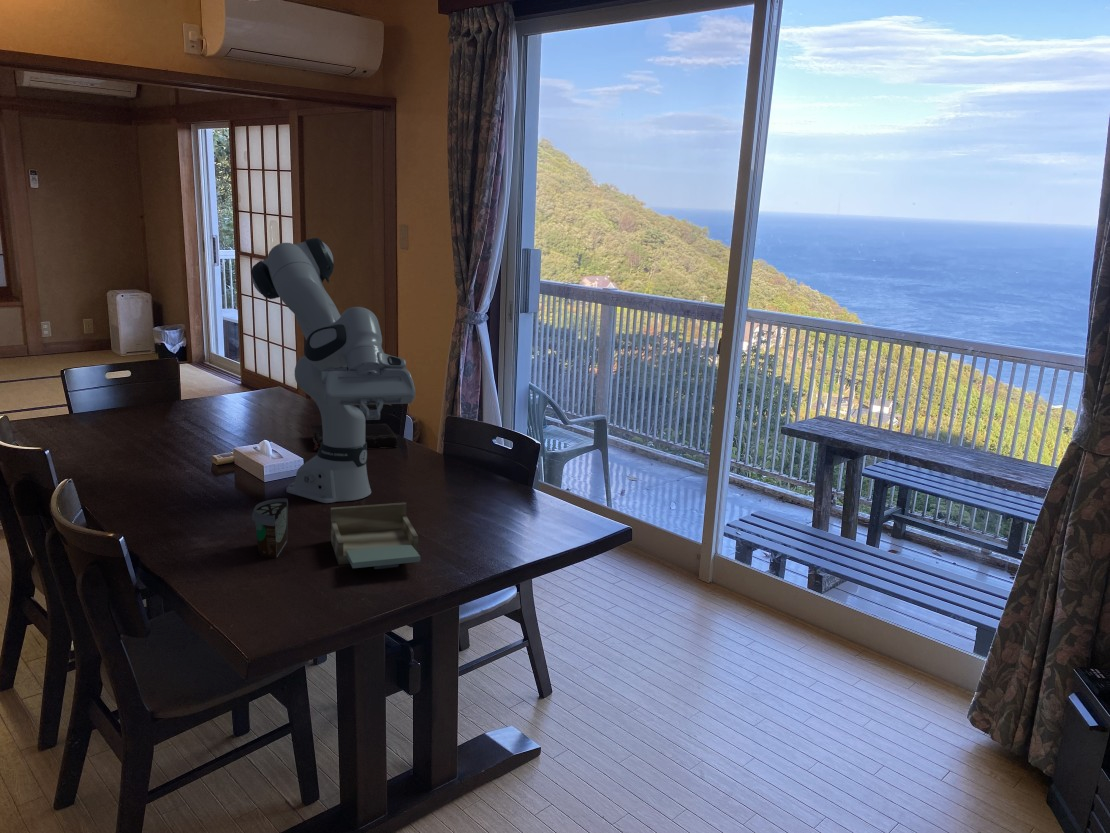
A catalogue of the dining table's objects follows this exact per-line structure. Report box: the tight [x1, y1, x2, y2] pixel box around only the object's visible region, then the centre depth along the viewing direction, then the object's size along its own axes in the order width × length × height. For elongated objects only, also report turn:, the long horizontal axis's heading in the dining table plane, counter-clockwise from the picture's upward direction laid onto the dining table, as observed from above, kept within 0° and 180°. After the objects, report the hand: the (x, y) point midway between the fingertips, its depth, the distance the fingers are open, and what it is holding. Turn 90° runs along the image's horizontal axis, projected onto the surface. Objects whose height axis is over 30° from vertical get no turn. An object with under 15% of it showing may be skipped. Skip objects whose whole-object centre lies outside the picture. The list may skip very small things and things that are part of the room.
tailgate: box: [346, 544, 421, 570], centre depth 170 cm, size 2×14×9 cm
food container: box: [251, 498, 289, 559], centre depth 176 cm, size 12×6×10 cm, turn 5°
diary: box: [310, 423, 398, 450], centre depth 265 cm, size 19×25×5 cm
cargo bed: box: [330, 501, 419, 566], centre depth 180 cm, size 14×17×8 cm
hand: (373, 418), depth 178 cm, fingers closed
